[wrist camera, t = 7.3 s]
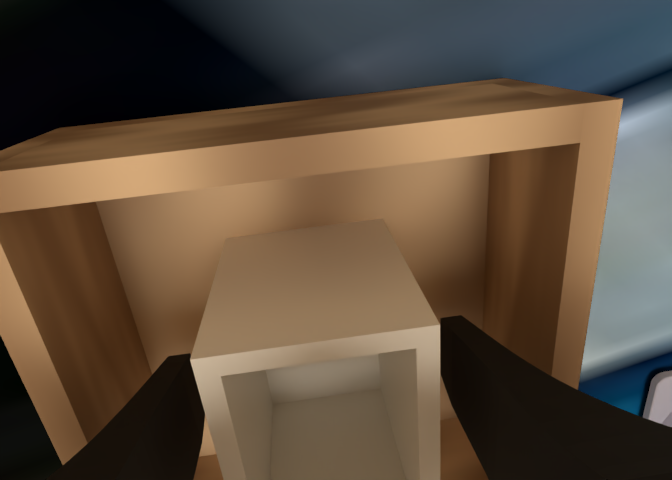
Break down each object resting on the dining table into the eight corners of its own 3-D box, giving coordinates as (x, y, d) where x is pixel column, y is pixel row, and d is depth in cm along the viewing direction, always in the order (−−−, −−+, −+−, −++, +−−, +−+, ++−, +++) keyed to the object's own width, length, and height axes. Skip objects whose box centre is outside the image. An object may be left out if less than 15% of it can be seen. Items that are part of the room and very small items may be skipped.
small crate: (382, 218, 15) (440, 324, 9) (392, 387, 18) (440, 545, 12) (226, 238, 14) (189, 359, 9) (261, 406, 17) (251, 576, 12)
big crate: (504, 77, 14) (623, 98, 9) (487, 408, 20) (555, 532, 15) (58, 127, 14) (-74, 180, 9) (170, 456, 19) (129, 604, 14)
